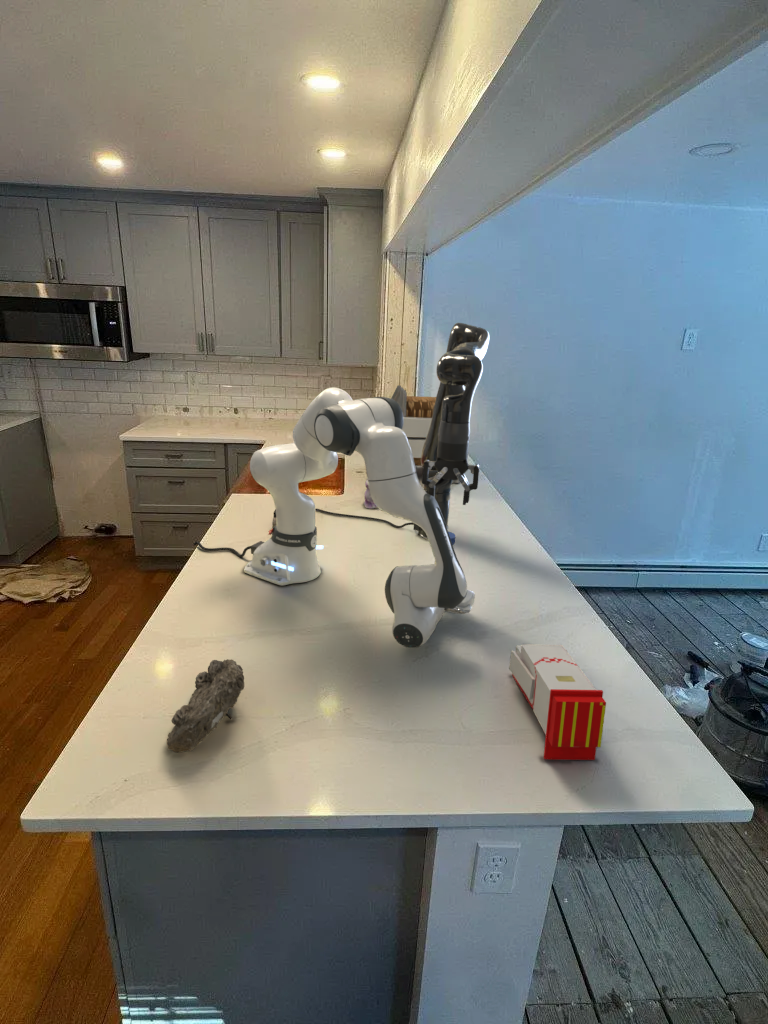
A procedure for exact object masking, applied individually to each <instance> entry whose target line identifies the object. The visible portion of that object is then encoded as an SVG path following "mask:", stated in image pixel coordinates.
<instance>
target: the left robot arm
mask: <svg viewBox="0 0 768 1024" xmlns="http://www.w3.org/2000/svg"><path fill="white" fill-rule="evenodd" d="M391 398H392V397H391ZM391 398H390V397H387V396H374V397H365V398H364V397H363V398H357V399H353V398H352V396H351V395H350V394H349V392H347V391H345V390H344V389H342V388H339V387H328V388H325V389H323V390H322V391H321V392H320V393H319V394H318V395H317V396H316V397H315V398H313V400H312V401H311V402H310V403H309V405H308V406H307V407H306V409H304V411H303V413H302V414H301V416H300V418H299V419H298V420H297V422H296V424H295V425H294V427H293V430H292V440H293V442H289V443H281V444H274V445H273V444H272V445H268V446H266V447H263V448H260V449H257V450H255V451H254V452H253V453H252V455H251V457H250V461H249V472H250V474H251V477H252V478H253V480H254V481H255V482H256V483H257V484H258V485H260V486H261V487H262V488H264V489H265V490H266V491H267V492H268V493H269V494H270V496H271V498H272V500H273V503H274V508H275V509H274V511H275V510H276V526H274V527H272V528H271V529H269V530H268V531H267V532H268V536H270V535H271V537H270V538H268V539H267V540H265V541H263V540H260V541H258V542H256V543H254V544H252V545H247V546H246V547H245V548H244V549H243V550H242V553H241V554H240V553H239V552H238V550H236V549H234V548H232V547H215V548H214V547H212V548H211V547H210V548H209V547H205V546H203V545H202V543H201V542H200V541H198V540H196V541H194V543H193V546H196V545H197V546H198V547H199V548H200V549H202V550H203V551H205V552H217V551H220V552H221V551H229V552H232V553H233V554H235V555H236V556H237V557H239V558H244V557H245V555H246V553H247V551H248V550H250V554H251V555H252V558H251V560H249V561H248V562H247V563H246V565H244V569H243V572H244V573H246V574H247V575H250V576H253V577H255V578H258V579H261V580H264V581H267V582H270V583H271V584H275V585H278V586H281V587H282V586H286V585H291V584H299V583H301V584H302V583H306V582H310V581H313V580H315V579H317V578H318V577H319V576H320V575H321V573H322V570H321V566H320V563H319V560H318V559H319V558H318V553H317V552H318V551H317V550H323V549H324V545H318V529H317V526H316V510H315V509H316V503H315V501H314V500H313V498H311V497H310V496H309V495H307V494H306V493H304V492H300V489H299V483H303V482H310V481H316V480H320V479H323V478H325V477H327V476H330V475H332V474H334V473H335V472H336V470H337V468H338V465H339V456H338V453H339V454H343V455H345V456H349V457H351V456H352V455H353V454H354V452H356V453H358V454H359V455H361V457H362V459H363V462H364V465H365V471H366V480H367V479H368V485H369V490H370V494H371V497H372V500H373V502H374V504H375V505H376V506H377V507H378V508H377V509H379V510H380V511H382V512H383V513H385V514H387V515H388V516H391V517H393V518H394V517H395V518H398V519H402V520H405V521H408V522H409V523H411V522H413V523H415V524H417V525H418V526H420V527H421V528H422V529H423V530H424V531H425V533H426V535H427V537H428V540H427V541H428V544H429V547H430V549H431V552H432V554H433V557H434V562H435V561H436V564H435V563H434V564H417V565H416V564H410V565H399V566H395V567H394V568H393V569H392V570H391V571H390V573H389V574H388V577H387V578H386V581H385V585H384V595H385V596H384V597H385V600H386V603H387V606H388V608H389V609H390V611H391V612H392V613H393V622H392V623H393V624H392V631H391V632H392V636H393V639H394V640H395V642H397V643H398V644H400V645H401V646H403V647H405V648H410V649H415V648H419V647H421V646H423V645H424V644H425V643H427V642H428V640H429V639H430V638H431V636H432V635H433V633H434V632H435V630H436V628H437V624H438V623H439V622H440V620H441V619H442V617H443V615H444V614H445V612H447V613H453V614H457V615H465V614H469V613H470V612H471V610H472V608H473V607H474V604H475V600H476V594H475V592H474V591H473V590H470V589H468V583H467V578H466V576H465V572H464V569H463V568H462V566H461V564H460V562H459V559H458V557H457V554H456V551H455V549H454V545H452V542H451V539H450V536H449V533H448V532H449V531H448V529H447V527H446V524H445V521H444V518H443V516H442V513H441V510H440V508H439V506H438V503H437V501H436V500H435V498H434V497H433V496H432V495H429V494H427V493H426V492H425V490H424V487H423V486H422V484H421V482H420V480H419V477H418V473H417V468H416V466H415V463H414V458H413V455H412V451H411V448H410V445H409V442H408V439H407V436H406V434H405V433H404V431H403V430H402V428H403V422H404V419H403V413H402V410H401V408H400V406H399V404H398V403H397V402H396V401H395V400H393V399H391Z"/></svg>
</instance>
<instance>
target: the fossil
mask: <svg viewBox="0 0 768 1024" xmlns="http://www.w3.org/2000/svg"><path fill="white" fill-rule="evenodd" d="M243 670H244V669H243V667H242V665H240V664H237V662H236V661H235V660H234V659H232V658H231V659H227V658H226V659H224V660H223V661H222V660H217V659H212V660H211V661H210V663H209V665H208V666H207V671H201V672H199V673H198V674H197V675H196V676H195V680H194V684H195V685H194V687H195V689H194V690H193V693H192V694H191V697H190V698H189V700H188V704H184V705H182V706H181V707H180V709H177V710H176V711H175V713H174V715H173V716H172V718H171V723H172V724H173V727H172V730H171V731H170V732H168V734H167V738H166V741H167V742H166V745H167V749H168V750H169V751H173V752H174V753H176V754H178V753H182V752H188V751H189V752H192V751H193V750H195V748H196V747H197V746H199V744H200V743H201V742H203V741H204V740H205V739H206V738H207V737H208V736H209V735H210V734H211V733H212V732H214V730H215V729H217V727H218V726H219V724H220V722H221V721H222V720H223V719H224V718H225V716H226V717H227V719H229V720H233V717H232V715H230V714H229V710H230V709H231V708H234V706H235V704H236V703H237V702H238V699H239V697H240V695H241V693H242V691H243V690H245V689H244V688H245V675H244V671H243Z"/></svg>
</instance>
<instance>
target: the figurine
mask: <svg viewBox="0 0 768 1024" xmlns="http://www.w3.org/2000/svg"><path fill="white" fill-rule="evenodd" d="M364 485H365V488H366V489H365V491H364V502H363V506H364V507H365V509H379V508H378V507H377V506H376V505H375V504H374V502H373V500H372V497H371V494H370V490H369V485H368V479H367V478H366V479H365V483H364Z"/></svg>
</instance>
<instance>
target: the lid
mask: <svg viewBox="0 0 768 1024" xmlns="http://www.w3.org/2000/svg"><path fill="white" fill-rule="evenodd" d="M448 533H449V536H450V539H451V542H452V545H453V546H455V544H456V534H455V533H454V532H452V531H448Z"/></svg>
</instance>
